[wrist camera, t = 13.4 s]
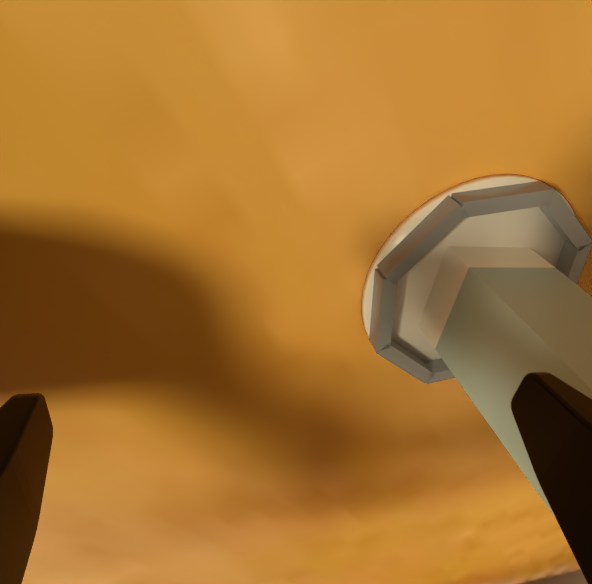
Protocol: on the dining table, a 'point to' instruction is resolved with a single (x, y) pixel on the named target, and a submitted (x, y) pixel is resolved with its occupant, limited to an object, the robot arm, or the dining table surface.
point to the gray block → (508, 331)
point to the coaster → (468, 233)
